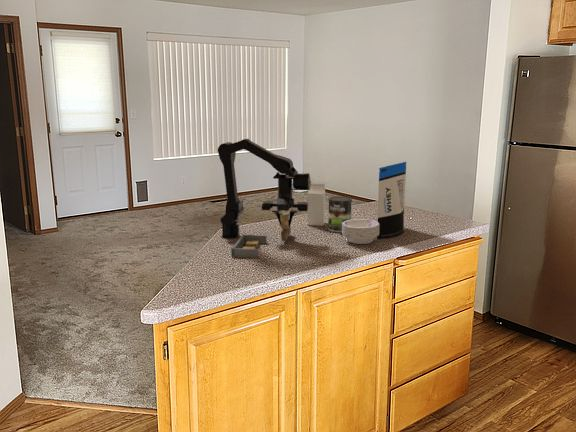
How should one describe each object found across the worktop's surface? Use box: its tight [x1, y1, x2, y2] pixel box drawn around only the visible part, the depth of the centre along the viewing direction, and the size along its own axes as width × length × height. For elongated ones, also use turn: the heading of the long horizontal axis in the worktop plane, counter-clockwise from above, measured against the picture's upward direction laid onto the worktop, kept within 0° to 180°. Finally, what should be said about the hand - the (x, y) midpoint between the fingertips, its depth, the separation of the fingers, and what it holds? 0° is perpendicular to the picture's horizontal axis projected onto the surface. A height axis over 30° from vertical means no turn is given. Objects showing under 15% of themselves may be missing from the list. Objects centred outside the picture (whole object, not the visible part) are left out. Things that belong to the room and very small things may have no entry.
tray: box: [230, 234, 268, 258], centre depth 208 cm, size 10×20×3 cm, turn 173°
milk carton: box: [307, 182, 326, 227], centre depth 244 cm, size 7×7×19 cm
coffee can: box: [327, 195, 353, 233], centre depth 235 cm, size 10×10×14 cm
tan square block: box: [245, 241, 260, 249], centre depth 212 cm, size 4×4×2 cm
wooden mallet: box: [280, 212, 292, 242], centre depth 220 cm, size 3×14×10 cm, turn 173°
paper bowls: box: [341, 218, 379, 245], centre depth 217 cm, size 15×15×8 cm
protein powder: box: [376, 161, 407, 240], centre depth 226 cm, size 10×24×30 cm, turn 142°
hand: (285, 226), depth 221 cm, fingers closed on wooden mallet, 3 cm apart
